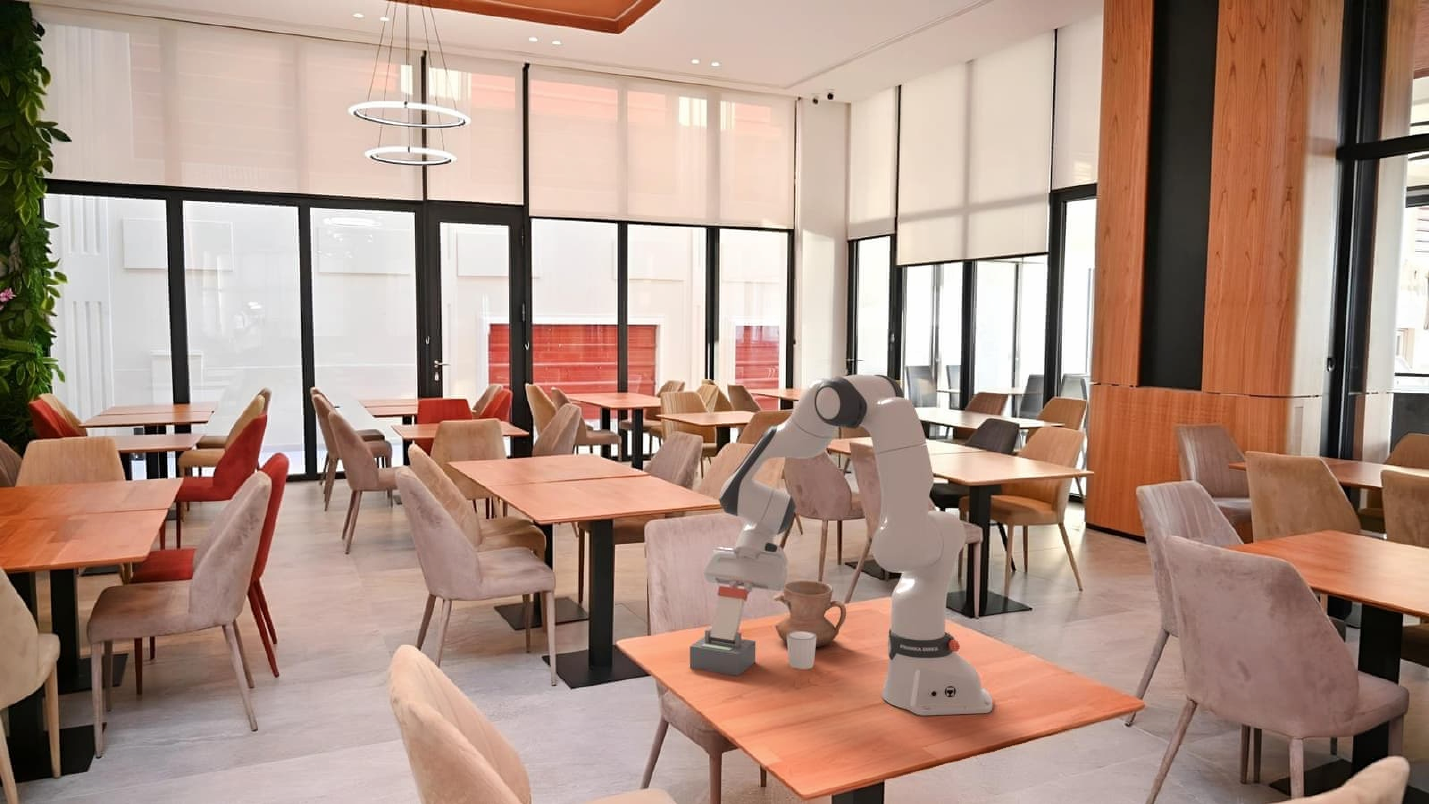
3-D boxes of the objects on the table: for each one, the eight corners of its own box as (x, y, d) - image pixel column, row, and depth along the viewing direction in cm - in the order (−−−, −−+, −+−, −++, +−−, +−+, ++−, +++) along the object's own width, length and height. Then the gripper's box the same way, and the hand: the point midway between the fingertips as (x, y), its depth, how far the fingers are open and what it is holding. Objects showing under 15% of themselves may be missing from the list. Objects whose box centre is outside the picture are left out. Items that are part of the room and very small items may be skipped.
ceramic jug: (766, 648, 233) (767, 591, 232) (779, 629, 247) (780, 575, 246) (840, 657, 228) (842, 598, 227) (849, 637, 242) (851, 582, 241)
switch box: (708, 654, 228) (708, 622, 228) (755, 662, 223) (755, 629, 223) (689, 667, 219) (690, 634, 219) (738, 675, 214) (738, 641, 214)
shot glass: (816, 660, 225) (816, 631, 224) (816, 670, 218) (816, 640, 217) (786, 659, 225) (787, 630, 225) (786, 669, 219) (786, 639, 218)
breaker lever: (711, 641, 223) (723, 589, 228) (737, 645, 220) (748, 592, 225) (707, 639, 221) (719, 585, 226) (733, 643, 218) (744, 589, 223)
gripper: (710, 539, 237) (692, 588, 229) (787, 548, 228) (772, 598, 220) (717, 554, 241) (700, 602, 233) (794, 562, 233) (779, 612, 225)
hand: (736, 600), depth 227 cm, fingers closed
